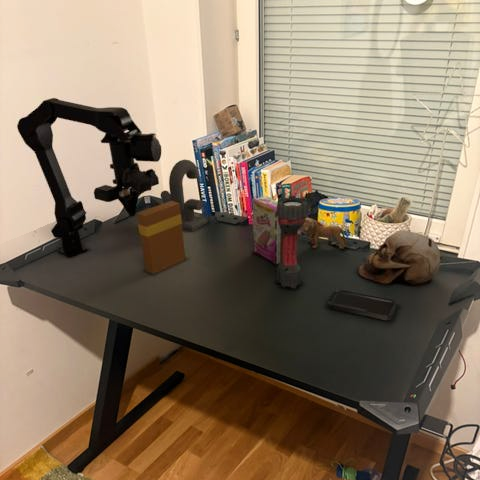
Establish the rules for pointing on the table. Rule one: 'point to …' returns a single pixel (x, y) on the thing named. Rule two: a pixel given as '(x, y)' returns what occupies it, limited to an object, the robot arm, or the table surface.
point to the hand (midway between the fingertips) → (132, 216)
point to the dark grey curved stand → (177, 194)
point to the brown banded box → (161, 236)
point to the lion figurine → (322, 232)
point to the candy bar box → (266, 228)
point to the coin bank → (403, 259)
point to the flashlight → (290, 238)
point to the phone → (362, 304)
